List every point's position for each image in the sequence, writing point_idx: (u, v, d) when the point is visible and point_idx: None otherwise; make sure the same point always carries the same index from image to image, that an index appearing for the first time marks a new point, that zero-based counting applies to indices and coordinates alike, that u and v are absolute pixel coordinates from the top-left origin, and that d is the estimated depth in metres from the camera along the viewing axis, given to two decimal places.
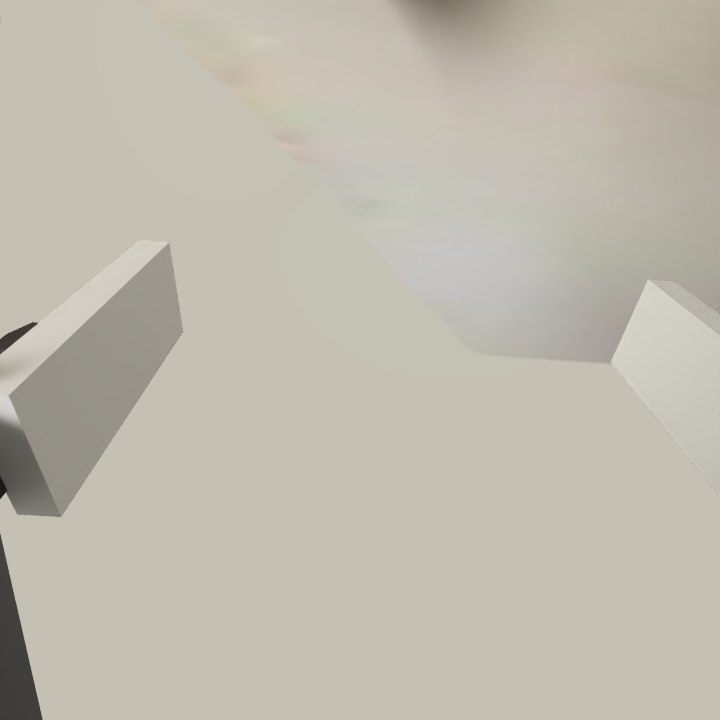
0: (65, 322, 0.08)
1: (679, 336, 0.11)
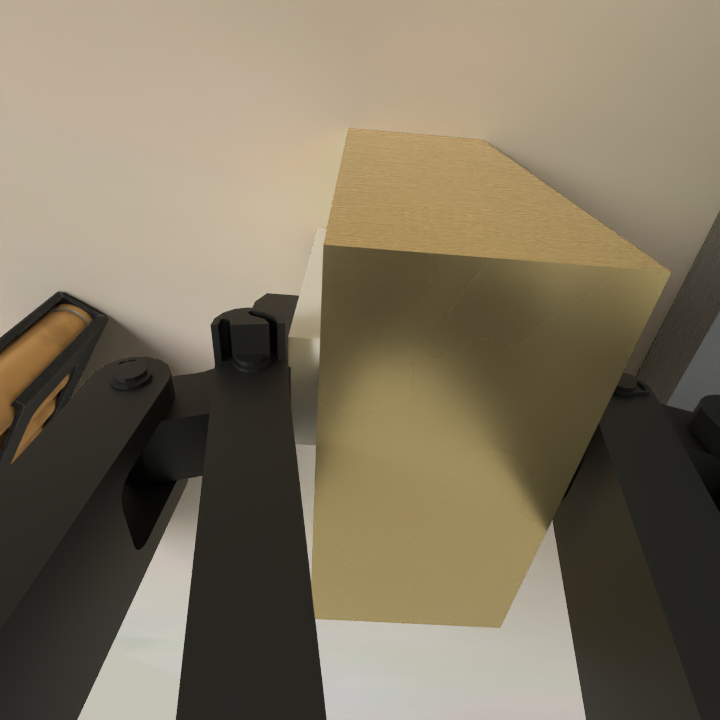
0: (320, 290, 0.10)
1: None
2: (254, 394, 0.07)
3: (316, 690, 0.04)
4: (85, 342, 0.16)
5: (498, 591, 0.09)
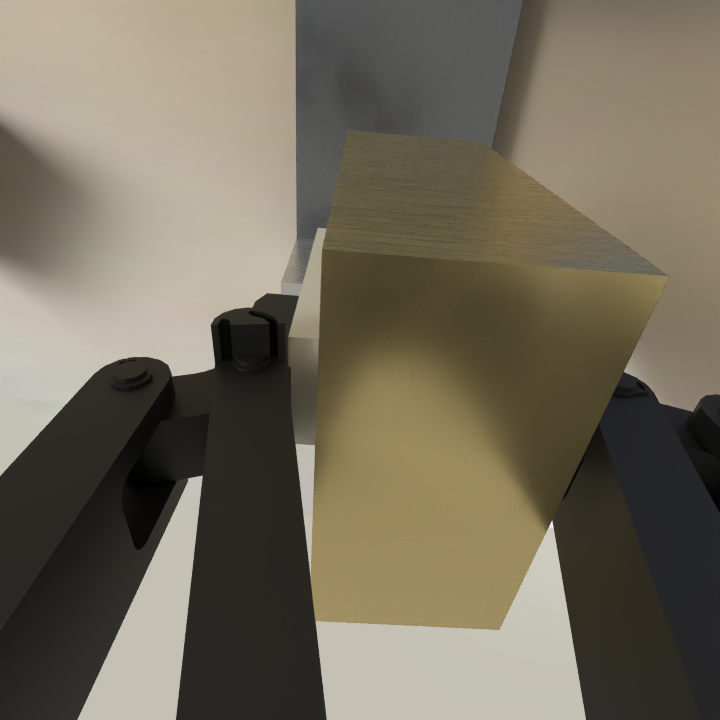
0: (320, 290, 0.10)
1: None
2: (254, 394, 0.07)
3: (316, 690, 0.04)
4: None
5: (497, 593, 0.09)
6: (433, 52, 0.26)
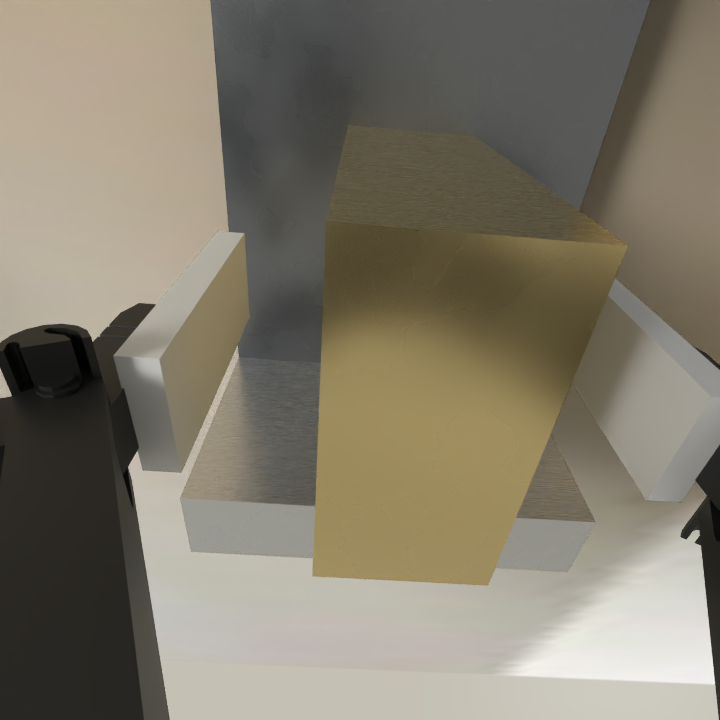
0: (181, 300, 0.09)
1: None
2: (62, 421, 0.06)
3: None
4: None
5: (485, 548, 0.10)
6: (480, 52, 0.13)
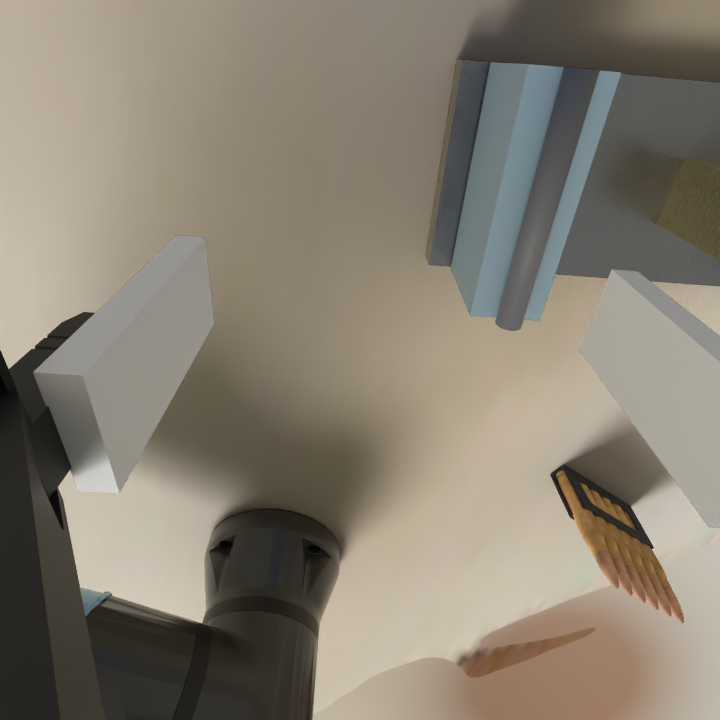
0: (121, 310, 0.09)
1: (637, 322, 0.12)
2: None
3: None
4: (571, 477, 0.44)
5: None
6: (647, 162, 0.28)
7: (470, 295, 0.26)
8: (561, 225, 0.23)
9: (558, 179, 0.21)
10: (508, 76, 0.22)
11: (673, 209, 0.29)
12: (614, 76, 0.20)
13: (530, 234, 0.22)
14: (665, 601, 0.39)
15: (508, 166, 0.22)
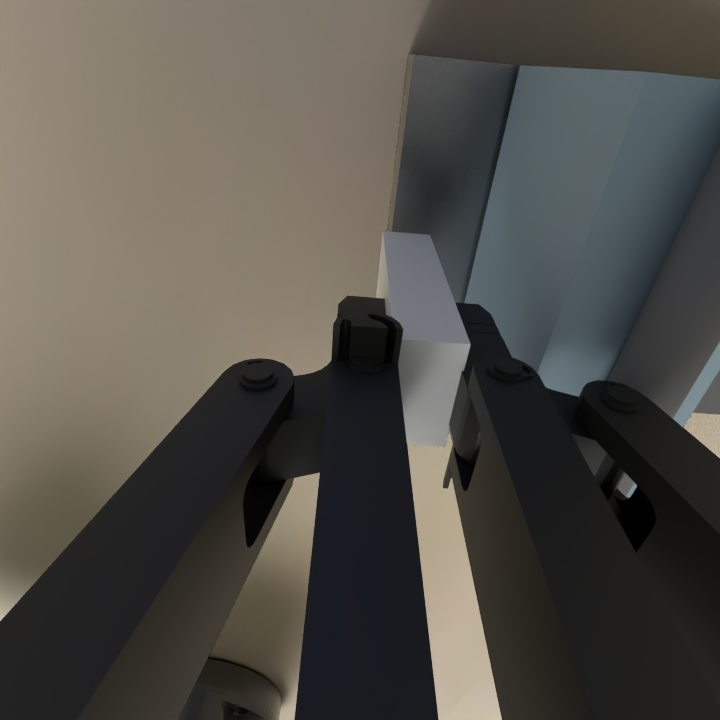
0: (407, 293, 0.11)
1: None
2: (368, 395, 0.07)
3: (428, 696, 0.04)
4: None
5: None
6: None
7: None
8: None
9: (699, 354, 0.08)
10: (569, 98, 0.10)
11: None
12: None
13: None
14: None
15: (570, 305, 0.09)
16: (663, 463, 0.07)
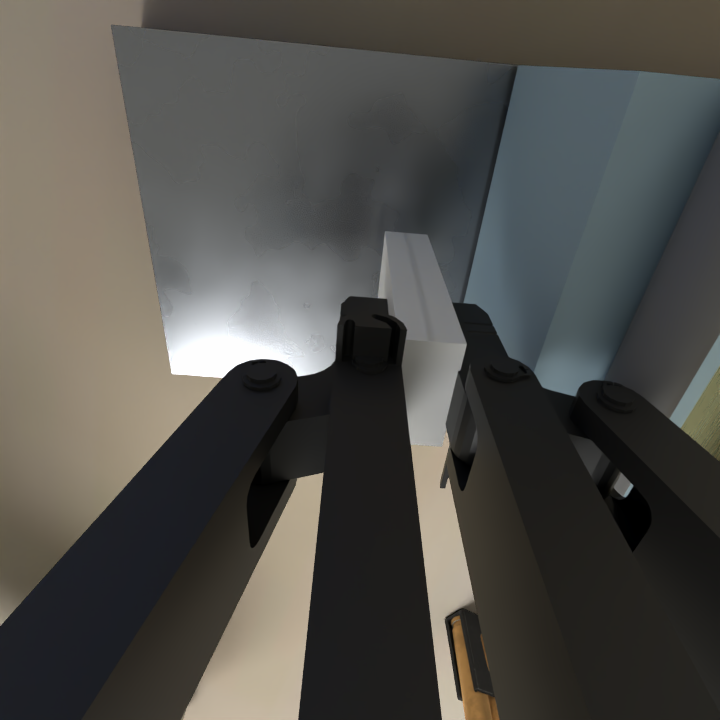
0: (410, 293, 0.11)
1: None
2: (371, 395, 0.07)
3: (432, 696, 0.04)
4: (467, 632, 0.32)
5: None
6: None
7: None
8: None
9: (694, 354, 0.08)
10: (565, 97, 0.10)
11: None
12: None
13: None
14: None
15: (566, 305, 0.09)
16: (659, 463, 0.07)
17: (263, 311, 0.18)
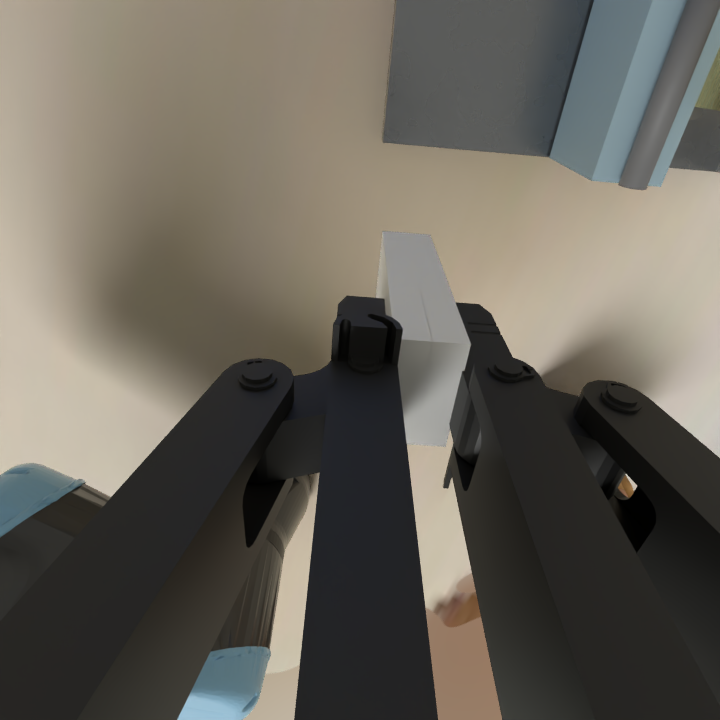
0: (407, 292, 0.11)
1: None
2: (367, 395, 0.07)
3: (428, 696, 0.04)
4: None
5: None
6: None
7: (590, 161, 0.26)
8: (699, 73, 0.23)
9: (713, 7, 0.20)
10: None
11: None
12: None
13: (674, 74, 0.22)
14: None
15: (655, 2, 0.21)
16: (663, 463, 0.07)
17: (449, 91, 0.30)
